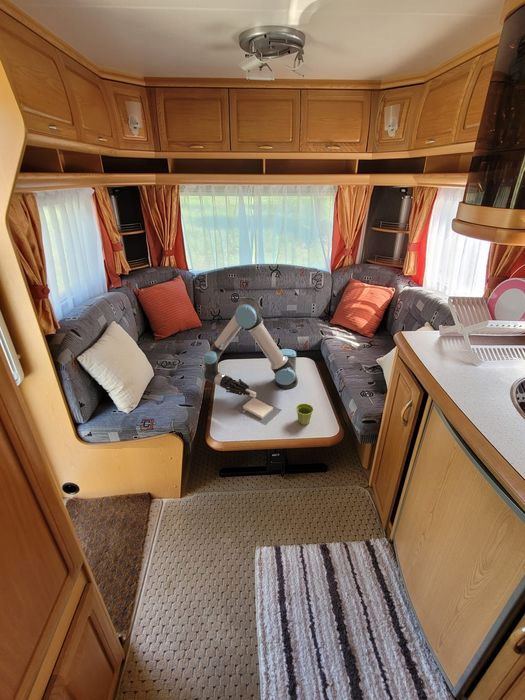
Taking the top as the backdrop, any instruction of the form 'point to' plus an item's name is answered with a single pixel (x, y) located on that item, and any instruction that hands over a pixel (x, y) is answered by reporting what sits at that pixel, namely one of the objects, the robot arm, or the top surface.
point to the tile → (258, 408)
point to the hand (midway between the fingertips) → (255, 395)
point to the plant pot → (304, 413)
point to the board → (264, 421)
